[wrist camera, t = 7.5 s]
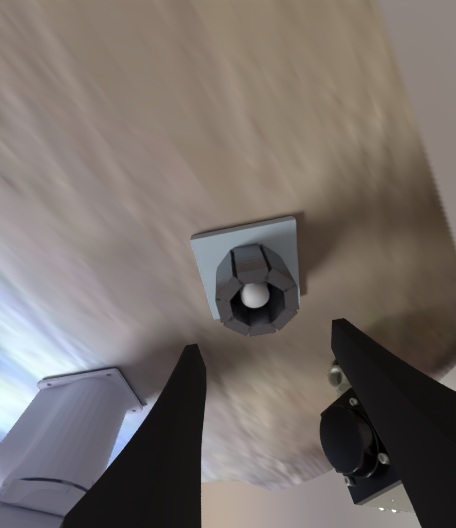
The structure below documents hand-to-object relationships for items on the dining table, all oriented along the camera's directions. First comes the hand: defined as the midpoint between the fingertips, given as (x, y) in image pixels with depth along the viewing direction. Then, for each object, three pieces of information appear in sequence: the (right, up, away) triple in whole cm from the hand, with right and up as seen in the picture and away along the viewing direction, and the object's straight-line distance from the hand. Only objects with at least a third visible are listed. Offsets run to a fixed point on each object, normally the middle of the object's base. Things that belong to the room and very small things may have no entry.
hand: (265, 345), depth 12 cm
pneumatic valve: (+12, -8, +14) cm, 20 cm away
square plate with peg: (0, +4, +7) cm, 8 cm away
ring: (0, +3, +6) cm, 7 cm away
